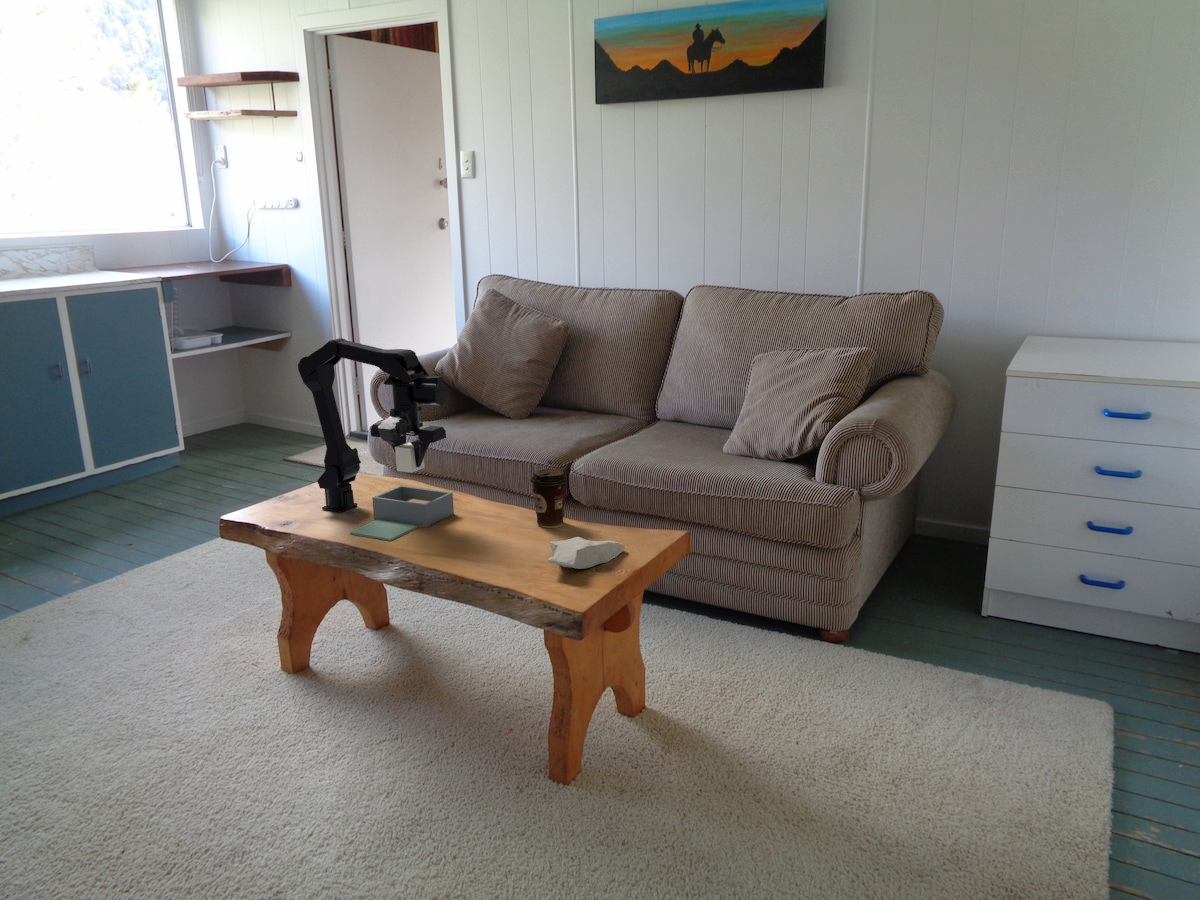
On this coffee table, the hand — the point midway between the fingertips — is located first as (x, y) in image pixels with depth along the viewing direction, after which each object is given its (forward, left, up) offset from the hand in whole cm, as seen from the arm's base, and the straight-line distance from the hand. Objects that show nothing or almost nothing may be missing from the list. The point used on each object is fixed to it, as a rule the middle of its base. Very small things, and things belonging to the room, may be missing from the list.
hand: (410, 465), depth 223 cm
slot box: (0, 0, -13) cm, 13 cm away
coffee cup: (+34, +8, -13) cm, 37 cm away
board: (0, -11, -13) cm, 17 cm away
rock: (+50, -10, -13) cm, 53 cm away
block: (0, 0, -1) cm, 1 cm away
